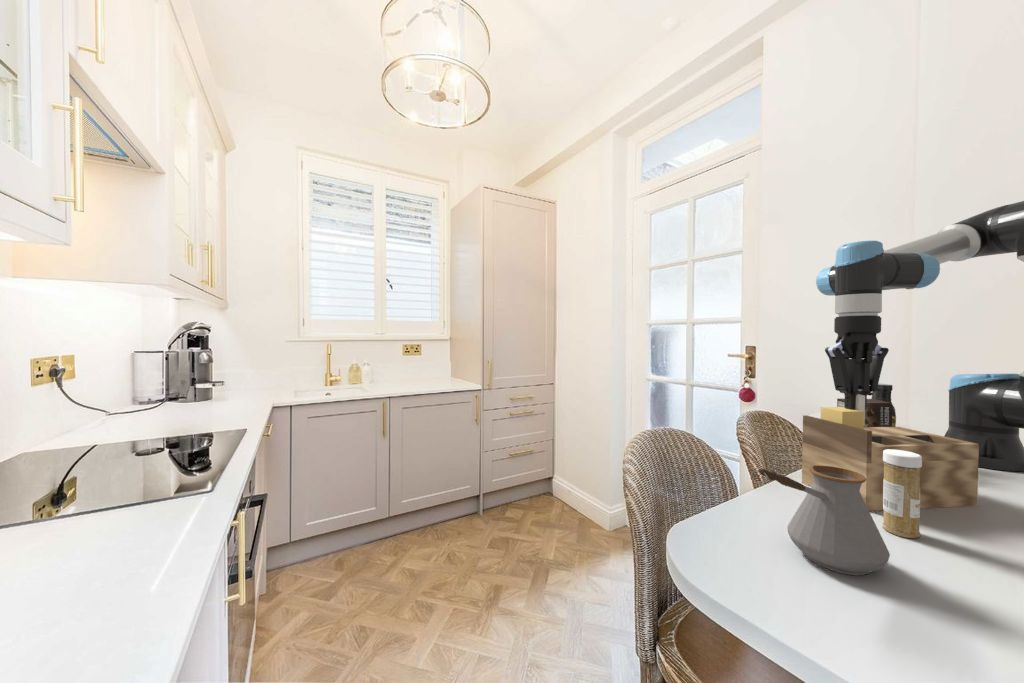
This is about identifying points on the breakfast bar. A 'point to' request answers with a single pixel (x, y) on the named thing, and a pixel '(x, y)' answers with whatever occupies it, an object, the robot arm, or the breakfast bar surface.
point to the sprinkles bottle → (901, 492)
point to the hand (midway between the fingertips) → (855, 424)
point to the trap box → (861, 450)
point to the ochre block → (843, 416)
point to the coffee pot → (835, 522)
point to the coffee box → (875, 412)
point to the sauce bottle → (885, 398)
